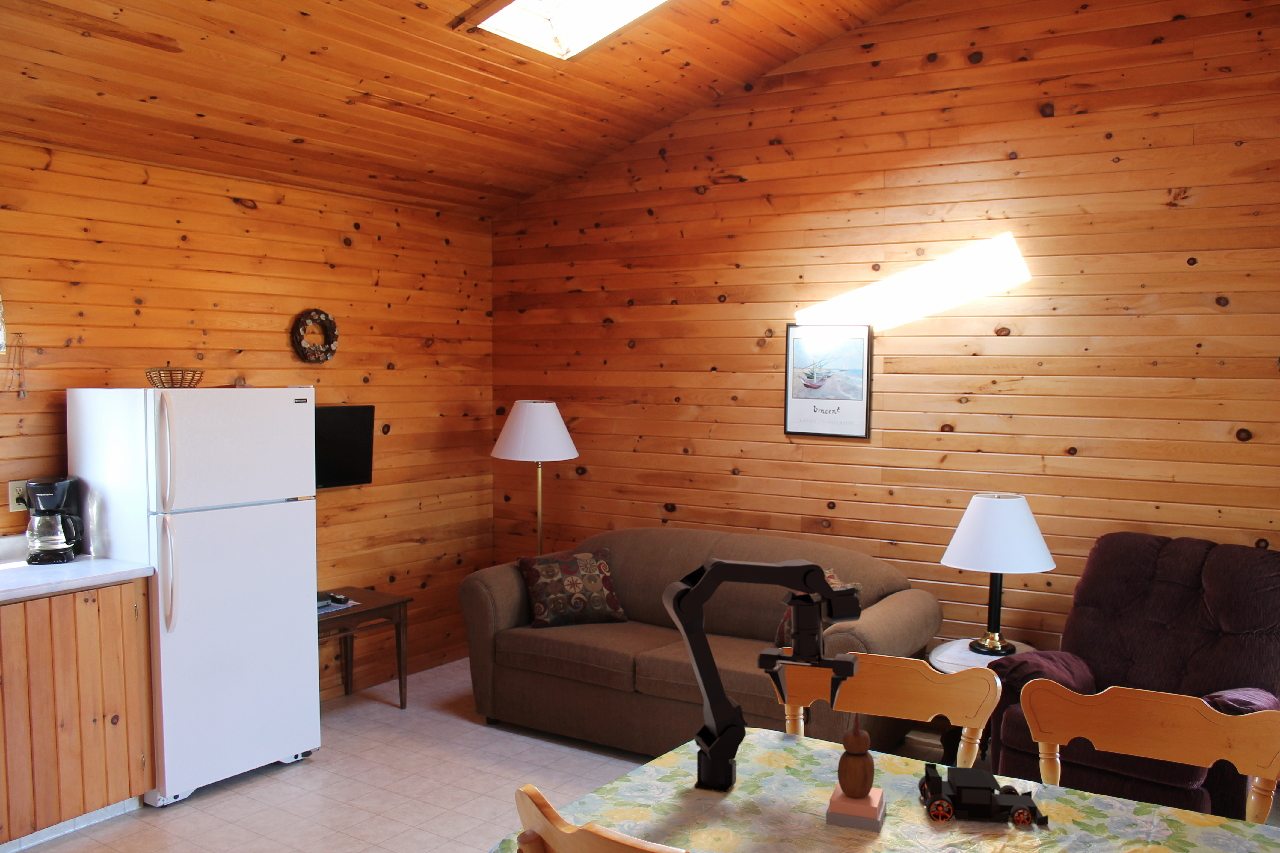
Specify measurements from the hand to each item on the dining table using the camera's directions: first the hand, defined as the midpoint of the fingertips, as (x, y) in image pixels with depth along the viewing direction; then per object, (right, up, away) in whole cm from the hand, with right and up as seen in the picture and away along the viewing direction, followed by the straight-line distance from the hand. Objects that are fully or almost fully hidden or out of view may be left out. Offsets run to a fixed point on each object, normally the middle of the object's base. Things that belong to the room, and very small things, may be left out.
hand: (808, 705), depth 186 cm
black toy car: (+28, -15, -16) cm, 35 cm away
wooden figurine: (+5, -10, -19) cm, 22 cm away
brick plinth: (+5, -14, -19) cm, 24 cm away
